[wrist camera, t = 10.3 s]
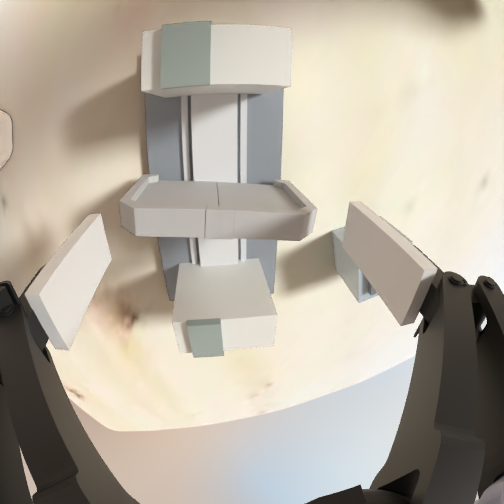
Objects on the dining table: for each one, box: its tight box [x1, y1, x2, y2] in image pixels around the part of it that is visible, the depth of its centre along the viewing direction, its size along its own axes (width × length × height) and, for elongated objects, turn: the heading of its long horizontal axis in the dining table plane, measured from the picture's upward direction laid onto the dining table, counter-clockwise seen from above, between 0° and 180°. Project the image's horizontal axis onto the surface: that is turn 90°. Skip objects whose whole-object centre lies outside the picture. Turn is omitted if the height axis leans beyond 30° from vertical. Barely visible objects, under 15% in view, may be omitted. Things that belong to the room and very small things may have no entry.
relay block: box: [332, 216, 412, 303], centre depth 25 cm, size 5×6×7 cm
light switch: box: [119, 174, 317, 241], centre depth 18 cm, size 2×12×8 cm, turn 84°
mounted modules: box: [141, 21, 292, 358], centre depth 18 cm, size 22×8×8 cm, turn 179°
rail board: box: [145, 88, 284, 301], centre depth 22 cm, size 24×11×2 cm, turn 179°
